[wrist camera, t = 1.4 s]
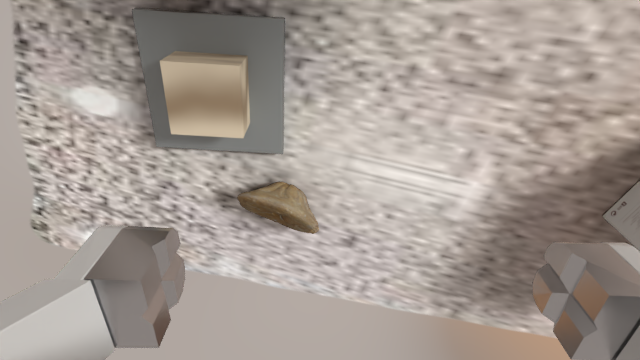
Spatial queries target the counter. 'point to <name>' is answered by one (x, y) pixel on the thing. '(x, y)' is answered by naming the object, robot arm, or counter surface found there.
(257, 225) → the counter surface
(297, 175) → the counter surface
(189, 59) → the maple base
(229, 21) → the build plate
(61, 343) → the robot arm
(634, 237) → the supplement box
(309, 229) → the fossil
